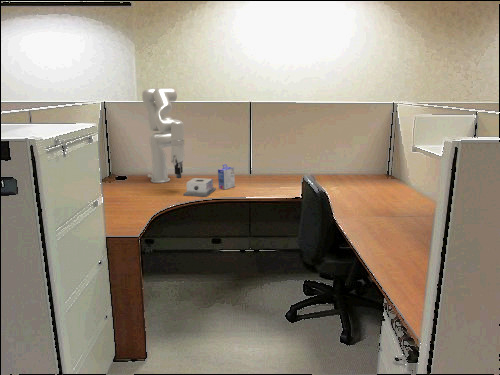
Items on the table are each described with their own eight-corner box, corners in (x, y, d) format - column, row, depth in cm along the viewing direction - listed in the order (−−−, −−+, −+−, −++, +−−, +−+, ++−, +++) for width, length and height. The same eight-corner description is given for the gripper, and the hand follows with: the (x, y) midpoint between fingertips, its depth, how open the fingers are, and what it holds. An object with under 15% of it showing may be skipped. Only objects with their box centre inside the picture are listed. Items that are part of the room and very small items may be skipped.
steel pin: (175, 178, 259) (175, 161, 257) (177, 176, 262) (176, 160, 259) (180, 178, 259) (179, 161, 256) (182, 177, 261) (181, 160, 259)
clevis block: (183, 195, 254) (182, 183, 252) (194, 188, 271) (193, 176, 269) (206, 197, 251) (206, 184, 249) (216, 189, 268) (215, 178, 266)
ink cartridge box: (228, 185, 278) (228, 163, 274) (235, 186, 274) (235, 164, 271) (217, 188, 270) (217, 165, 267) (224, 189, 267) (224, 166, 264)
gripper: (177, 140, 263) (178, 170, 268) (165, 144, 248) (167, 176, 253) (188, 140, 262) (189, 170, 267) (178, 145, 246) (179, 177, 251)
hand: (178, 173), depth 260 cm, fingers closed on steel pin, 3 cm apart
